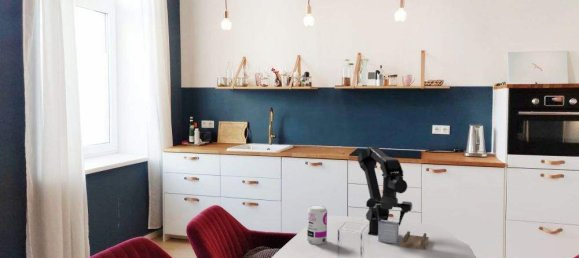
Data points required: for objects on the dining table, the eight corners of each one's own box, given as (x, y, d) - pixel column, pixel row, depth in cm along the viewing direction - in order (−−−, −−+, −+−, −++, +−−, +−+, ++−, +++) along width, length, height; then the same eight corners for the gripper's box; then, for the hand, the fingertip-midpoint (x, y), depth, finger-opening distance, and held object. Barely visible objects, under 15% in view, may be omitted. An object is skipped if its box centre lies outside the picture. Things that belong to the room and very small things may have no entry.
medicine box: (398, 241, 208) (399, 221, 207) (396, 244, 204) (396, 224, 203) (380, 238, 211) (380, 219, 211) (377, 241, 207) (378, 221, 207)
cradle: (400, 246, 201) (401, 239, 201) (405, 237, 213) (405, 231, 213) (425, 249, 198) (425, 242, 197) (428, 240, 210) (428, 233, 209)
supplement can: (328, 240, 208) (329, 206, 207) (323, 245, 200) (324, 210, 199) (310, 238, 211) (311, 204, 210) (304, 243, 203) (305, 208, 202)
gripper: (364, 190, 202) (362, 226, 203) (409, 194, 195) (408, 231, 196) (369, 185, 212) (368, 220, 213) (413, 188, 205) (411, 224, 207)
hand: (388, 224), depth 207 cm, fingers open, 9 cm apart
